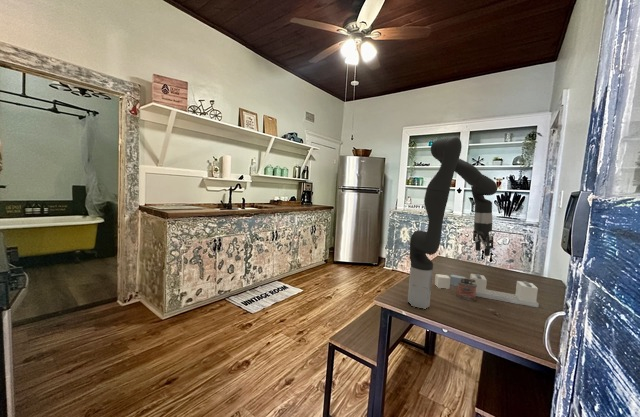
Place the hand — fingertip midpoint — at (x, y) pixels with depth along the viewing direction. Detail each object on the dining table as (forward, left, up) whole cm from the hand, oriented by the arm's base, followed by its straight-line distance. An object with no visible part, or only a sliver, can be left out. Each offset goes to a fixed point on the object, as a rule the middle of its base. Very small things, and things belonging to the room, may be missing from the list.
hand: (482, 253), depth 126 cm
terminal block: (+9, +8, -22) cm, 25 cm away
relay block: (+2, +16, -22) cm, 27 cm away
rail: (+1, -10, -22) cm, 24 cm away
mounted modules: (+1, -10, -20) cm, 22 cm away
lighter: (-8, +6, -22) cm, 24 cm away
